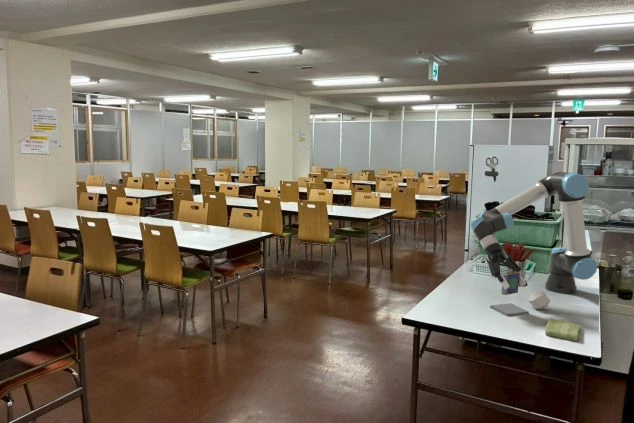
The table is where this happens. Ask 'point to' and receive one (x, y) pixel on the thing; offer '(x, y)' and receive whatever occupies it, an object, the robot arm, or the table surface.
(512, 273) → the flask
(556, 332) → the washcloth
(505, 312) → the mat
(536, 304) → the die
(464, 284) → the table surface
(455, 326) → the table surface
